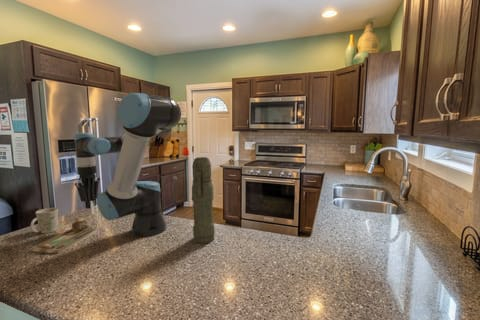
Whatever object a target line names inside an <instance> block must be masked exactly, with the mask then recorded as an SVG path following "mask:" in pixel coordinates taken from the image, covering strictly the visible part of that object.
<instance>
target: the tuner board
mask: <svg viewBox="0 0 480 320" xmlns="http://www.w3.org/2000/svg"><path fill="white" fill-rule="evenodd" d="M96 233H98V229H97V228H93V227H92V226H87V229H85V230H83V231H81V232H79V233H77V232H73V229H72V228H70V229H68V230H66V231H64V232H61V233H60V234H57V235H55V236H53V237H51V238H48V239H47V240H45V241H42V242H40V243H39V244H37V245H34V246H32V247H31V251H32V252H37V253H38V252H39V253H49V254H50V253H51V254H60V253H62V252H63V251H66V250H67V249H69V248H71V247H73V246H75V245H76V244H79V243H80V242H82V241H84V240H86V239H87V238H89V237H90V236H93V235H95V234H96Z"/></svg>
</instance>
